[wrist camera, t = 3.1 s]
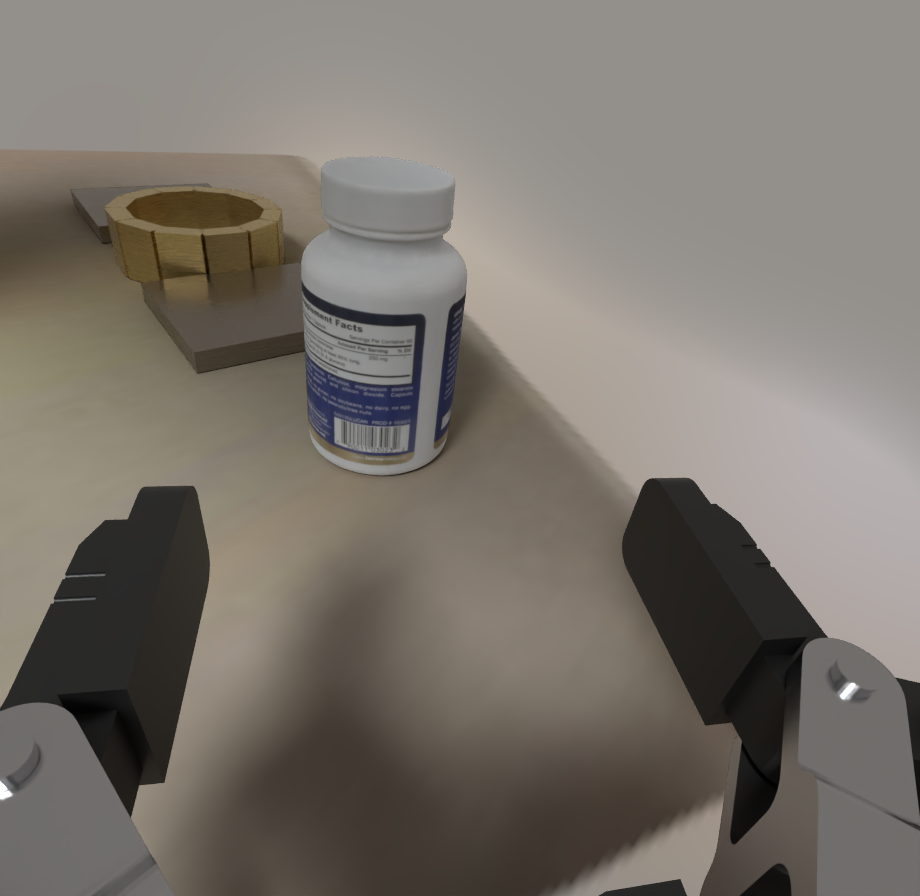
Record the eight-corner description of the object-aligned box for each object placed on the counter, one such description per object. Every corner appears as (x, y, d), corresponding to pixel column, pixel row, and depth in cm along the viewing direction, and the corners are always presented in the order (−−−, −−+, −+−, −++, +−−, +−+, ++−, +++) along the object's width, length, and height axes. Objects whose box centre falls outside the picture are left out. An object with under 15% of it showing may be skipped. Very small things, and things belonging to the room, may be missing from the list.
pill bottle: (388, 386, 26) (401, 146, 20) (474, 445, 24) (517, 186, 18) (280, 427, 23) (259, 154, 17) (366, 500, 20) (375, 205, 14)
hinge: (197, 373, 25) (186, 307, 23) (74, 204, 40) (61, 156, 38) (378, 334, 30) (381, 278, 28) (209, 197, 45) (203, 154, 43)
